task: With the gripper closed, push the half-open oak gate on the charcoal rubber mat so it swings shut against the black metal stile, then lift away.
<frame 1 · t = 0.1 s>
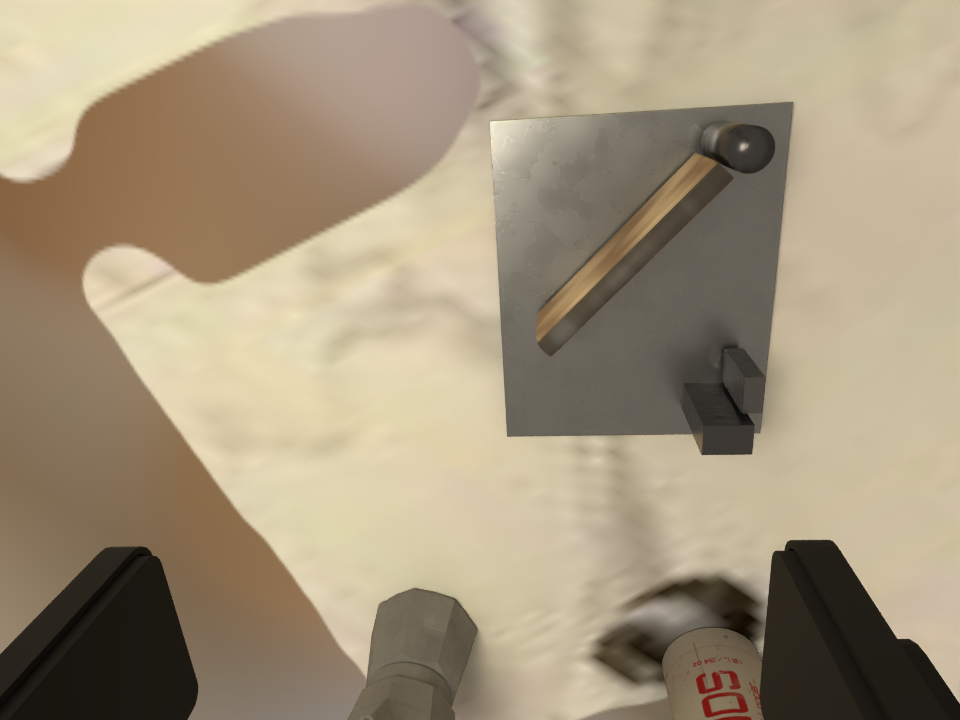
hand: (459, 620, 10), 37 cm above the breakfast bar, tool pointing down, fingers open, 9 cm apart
thermos bottle: (709, 662, 57), on the breakfast bar
gate frame: (718, 141, 41), on the breakfast bar
coffeepot: (427, 637, 58), on the breakfast bar
gate: (625, 256, 40), point 4 cm above the breakfast bar, hinge at -45.0°
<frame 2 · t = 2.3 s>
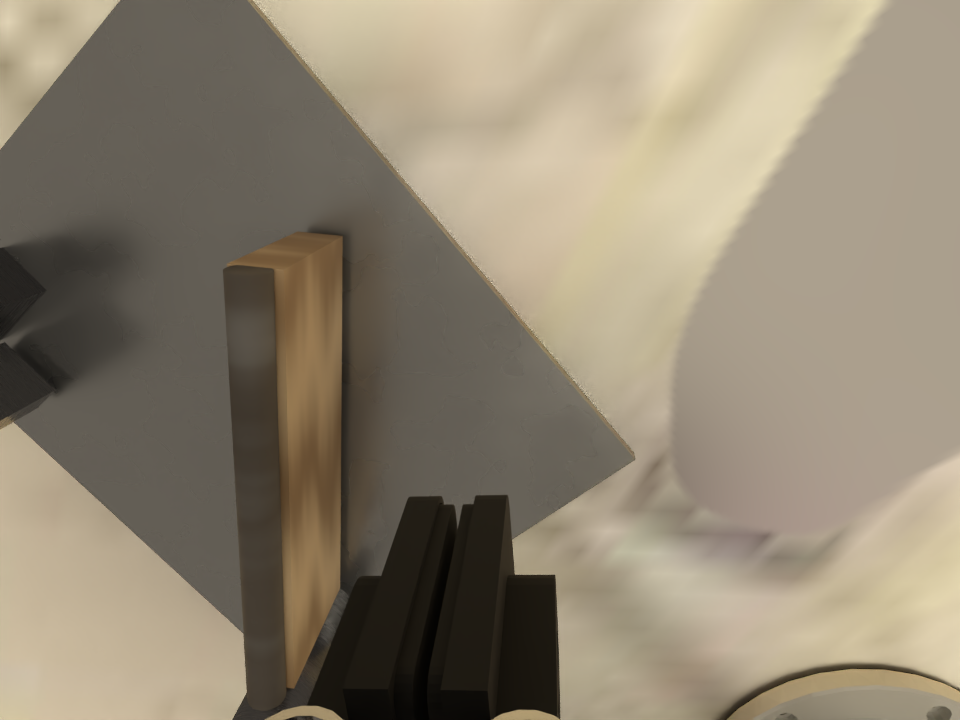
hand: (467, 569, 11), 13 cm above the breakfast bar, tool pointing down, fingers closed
gate frame: (329, 598, 28), on the breakfast bar
gate: (290, 468, 21), point 4 cm above the breakfast bar, hinge at -45.0°
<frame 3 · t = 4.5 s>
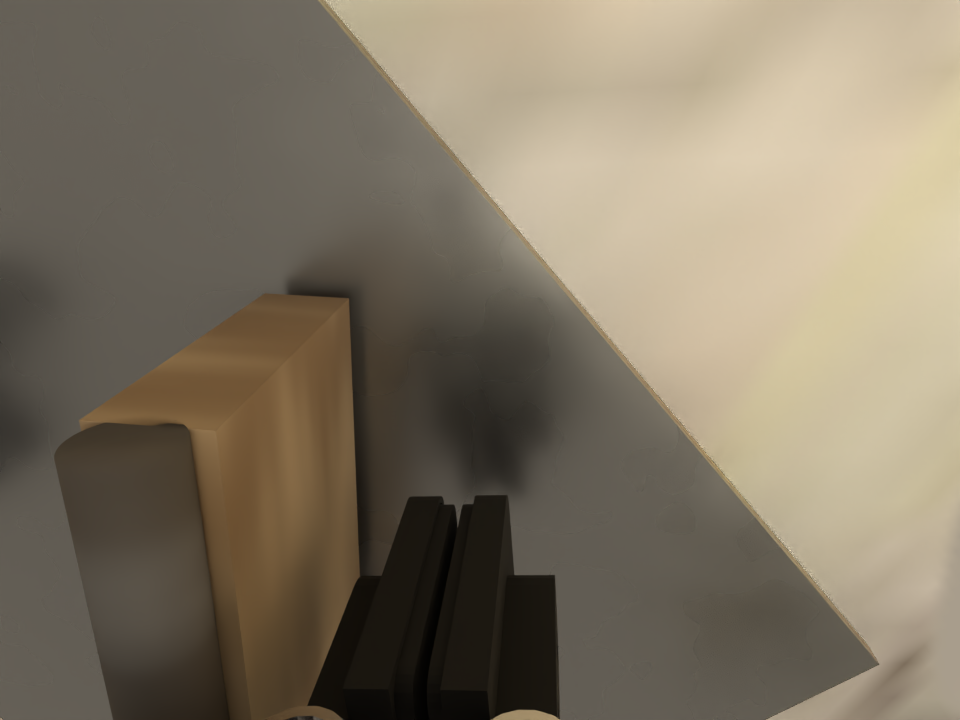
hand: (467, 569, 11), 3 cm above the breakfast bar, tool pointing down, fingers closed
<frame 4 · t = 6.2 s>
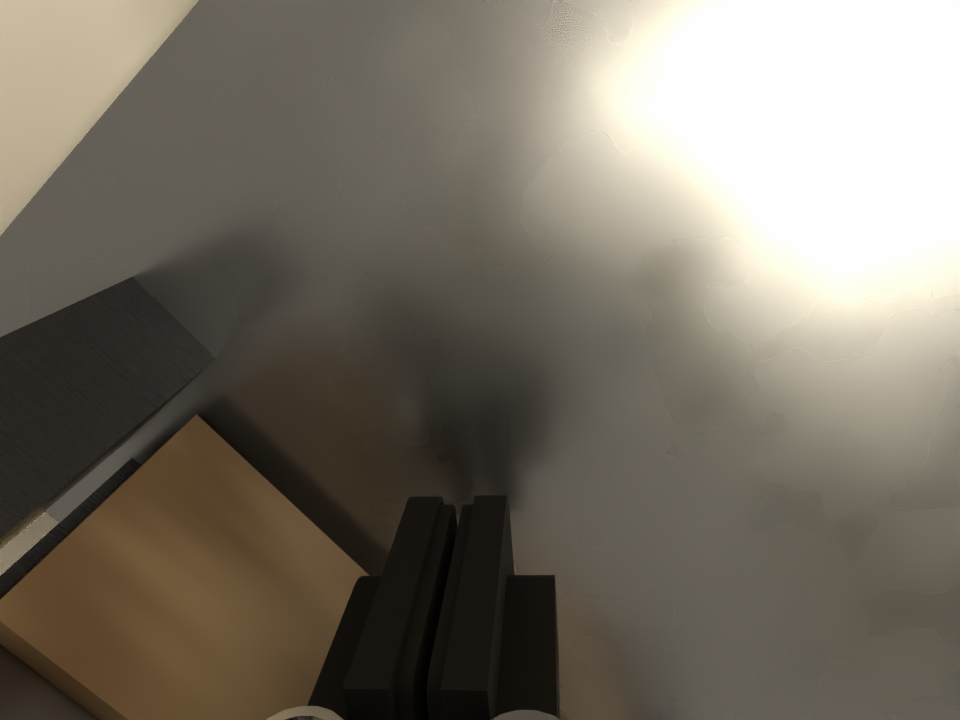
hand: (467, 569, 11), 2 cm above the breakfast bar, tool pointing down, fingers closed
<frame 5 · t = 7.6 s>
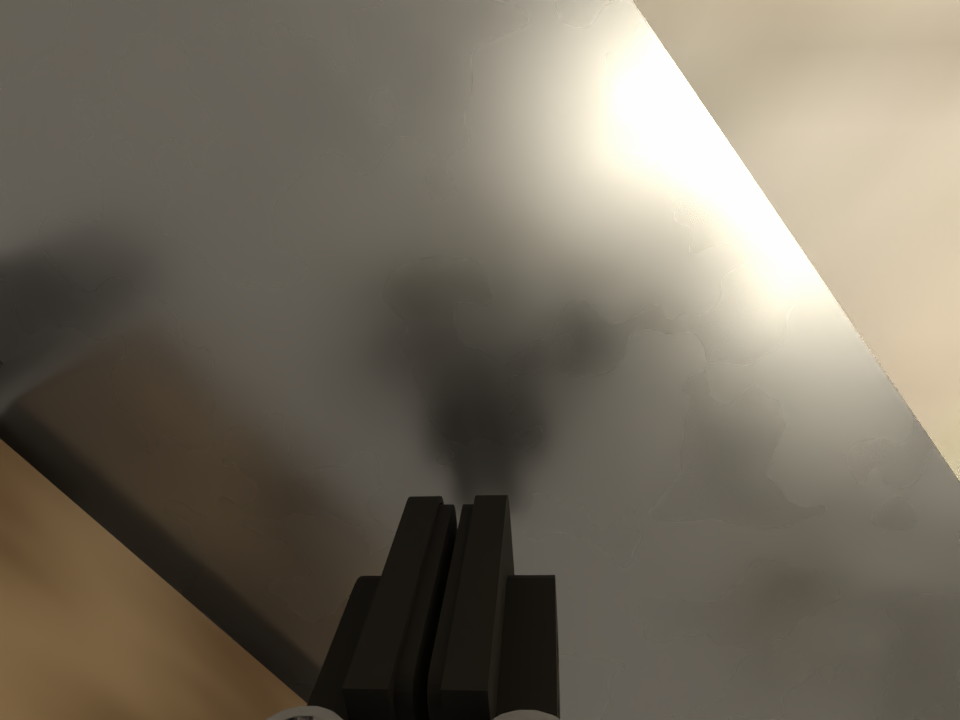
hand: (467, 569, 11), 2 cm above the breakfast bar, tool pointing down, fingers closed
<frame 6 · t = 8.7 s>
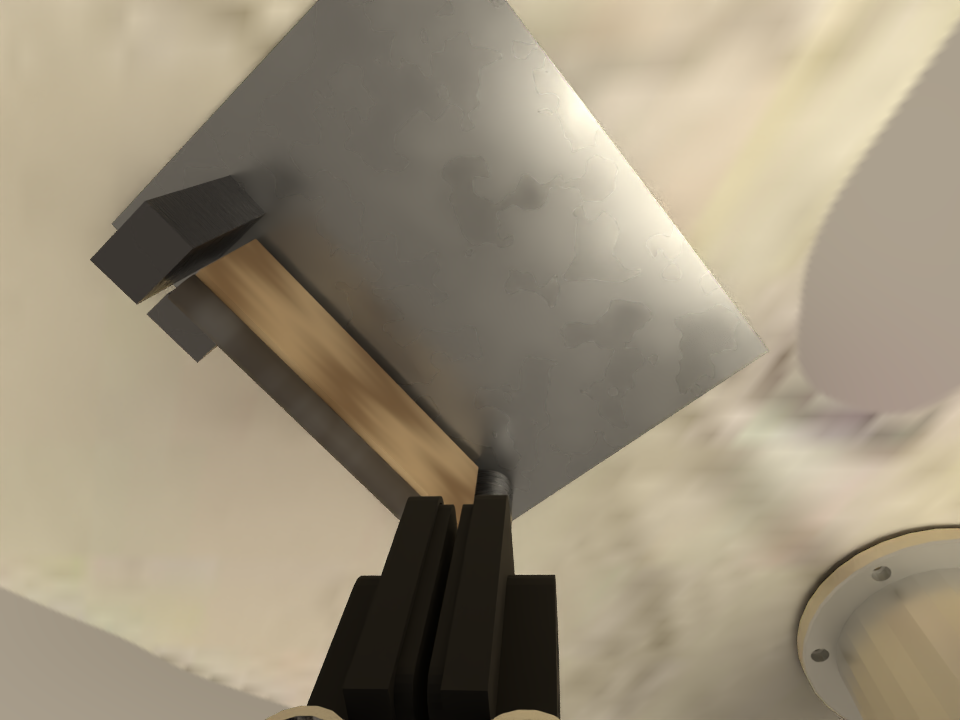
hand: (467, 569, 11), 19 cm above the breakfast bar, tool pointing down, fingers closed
gate frame: (488, 485, 33), on the breakfast bar
gate: (343, 399, 27), point 4 cm above the breakfast bar, hinge at 0.6°
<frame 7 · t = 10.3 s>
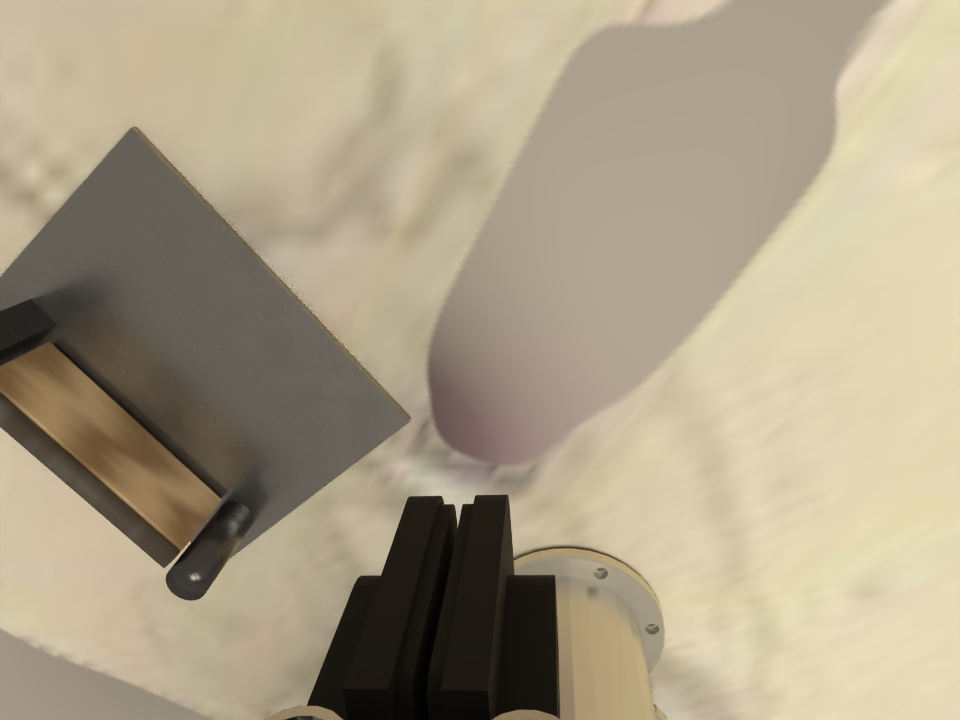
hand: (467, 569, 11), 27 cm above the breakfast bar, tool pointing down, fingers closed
gate frame: (238, 512, 45), on the breakfast bar
gate: (102, 454, 39), point 4 cm above the breakfast bar, hinge at 0.6°
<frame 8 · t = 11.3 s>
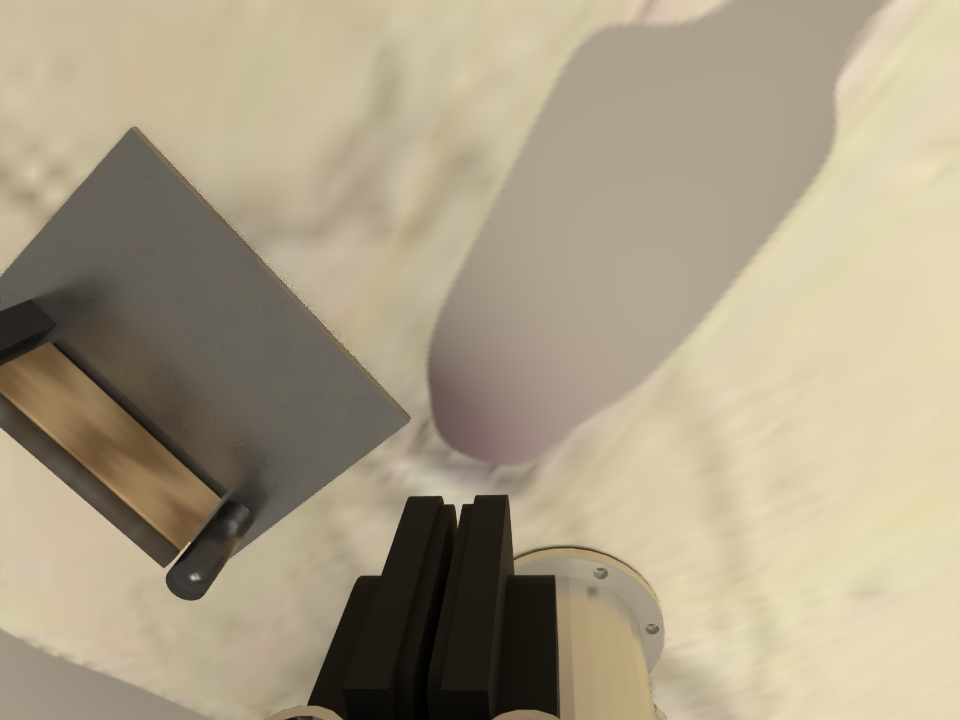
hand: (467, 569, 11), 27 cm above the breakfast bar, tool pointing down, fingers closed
gate frame: (238, 512, 45), on the breakfast bar
gate: (102, 454, 39), point 4 cm above the breakfast bar, hinge at 0.6°
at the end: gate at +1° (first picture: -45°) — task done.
